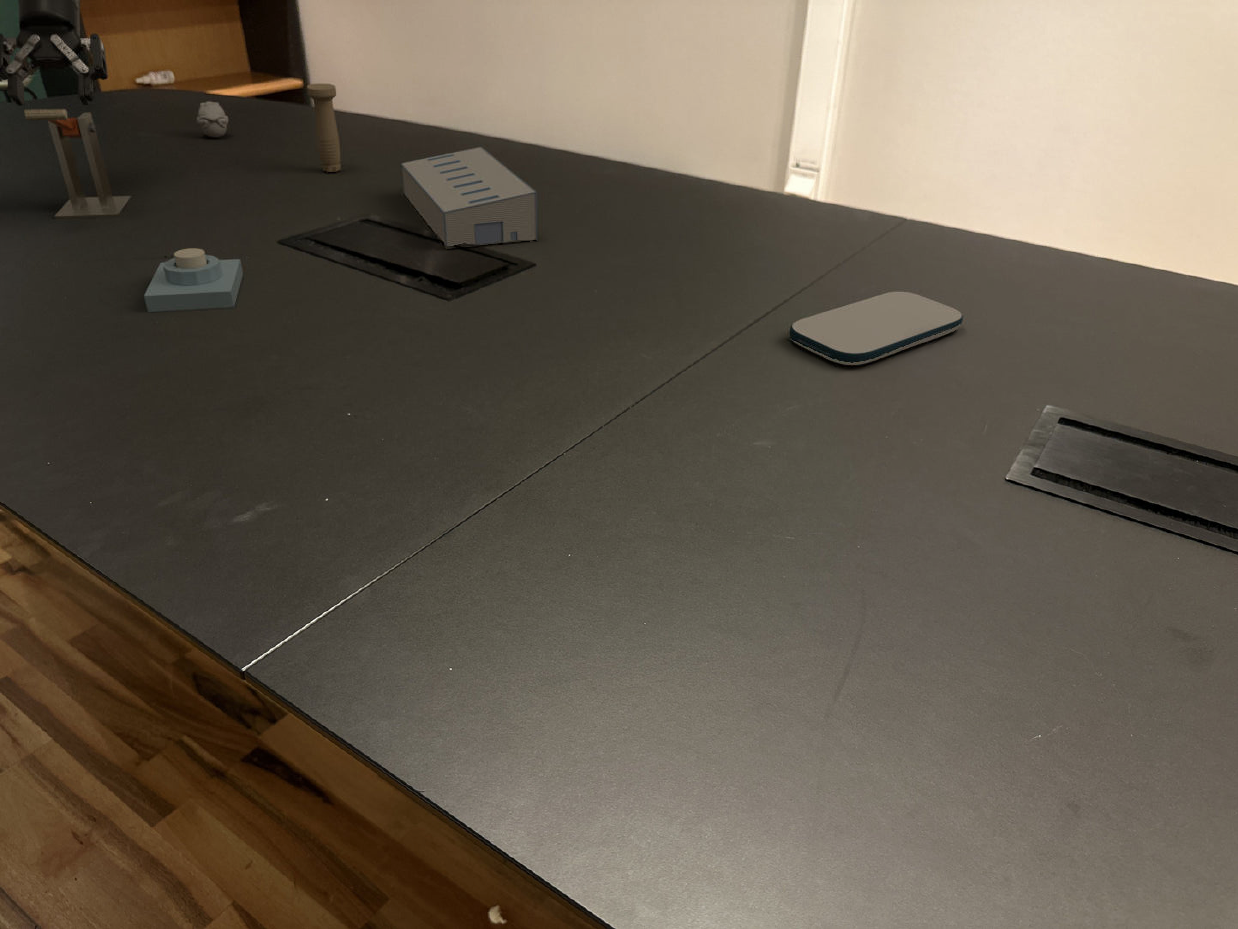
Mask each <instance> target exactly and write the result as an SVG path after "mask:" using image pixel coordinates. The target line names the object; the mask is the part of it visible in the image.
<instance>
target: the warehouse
mask: <svg viewBox="0 0 1238 929" xmlns="http://www.w3.org/2000/svg"><path fill="white" fill-rule="evenodd" d="M400 171H401V181H402V193H403V194H404V193H405V195H406V196H407V197H408V198H409V200H410V201H411V203H412V204H413V205H414V206H415V208H416V210H418V211H419V213H420V215H421V216H423V218H424V219H425V221H426V222H427V223H428V225H429V226H430V227H431V228H432V230H433V231H434V232H435V233H436V234H438V236H439V237H440V238H441V240H442V241H443V242H444V244H445V246H454V245H458V244H463V243H466V244H484V243H494V242H507V241H514V240H534V239H536V240H537V241H538V195H537V194H538V192H537V190H535V189H534V188H532V187H531V186H530V185H529V184H528V183H527V182H525V181H524V180H523V179H521V178H520V177H519V176H518V175H517V174H516V173H514V172H513V171H512V170H511V169H510V168H508V167H507V166H506V165H504V164H503V163H502V162H501V161H500V160H498V159H497V158H496V157H495V156H493V155H492V154H491V153H489V151H487V150H486V149H485V148H483V147H482V146H479V147H474V148H469V149H463V150H459V151H454V152H449V153H445V154H440V155H435V156H430V157H425V158H421V159H415V160H410V161H405V162H401V163H400ZM416 210H415V211H416ZM420 215H419V216H420Z"/></svg>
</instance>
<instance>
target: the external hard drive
mask: <svg viewBox="0 0 1238 929" xmlns="http://www.w3.org/2000/svg"><path fill="white" fill-rule="evenodd" d="M963 320H964V316H963V314H962V312H961V311H960V310H958V309H956V308H954V307H952V306H949V305H947V304H944V303H941V302H939V301H936V300H934V299H931V298H928V297H926V296H923V295H920V294H917V293H913V292H909V291H898V290H897V291H889V292H884V293H880V294H878V295H874V296H871V297H868V298H865V299H861V300H858V301H855V302H852V303H849V304H844V305H842V306H839V307H835V308H832V309H829V310H825V311H823V312H820V313H816V314H812V315H809V316H806V317H803V318H800V319H798V320H796V321H794V322H793V323H792V324H791V326H790V327H789V332H788V333H789V334H788V335H790V337H789V339H790V338H791V339H792V340H793V341H796V342H798V343H800V344H802V345H803V346H806V347H809V348H811V349H813V350H814V351H817V352H819V353H822V354H824V355H826V356H828V357H830V358H832V359H837V360H839V361H844V362H851V363H853V362H860V361H866V360H869V359H874V358H876V357H879V356H881V355H883V354H885V353H889V352H891V351H893V350H896V349H898V348H900V347H904V346H906V345H909V344H911V343H913V342H916V341H919V340H922V339H924V338H927V337H930V336H932V335H936V334H938V333H941V332H943V331H946V330H949V329H952V328H954V327H956V326H958V325H959V324H961V323H962V324H963ZM962 324H961V325H962Z"/></svg>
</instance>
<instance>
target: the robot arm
mask: <svg viewBox="0 0 1238 929" xmlns="http://www.w3.org/2000/svg"><path fill="white" fill-rule="evenodd" d="M80 9H81V2H80V0H18V28H19V32H18V34H17V36H16V37H5V36H4V35H3V34H2V33H1V32H0V80H2V81H7V94H8V96H9V97H10V99H11V101H12V102H14V103H15V104H16V105H17V106H22V107H24V106H25V84H24V81H25V80H26V79H27V78H28V77H29V76H33V75H34V74H35V73H37V71H38V70H39V69H40V68H41V70H50V69H57V70H66V68H67V67H69V68H71V69H73V72H75V73H76V74H77V82H78V84H77V87H78V88H77V90H78V99H79V100H80V102H81V103H82V105H83V106H90V104H91V102H93V101H94V96H95V95H94V83H95V81H96V80H102V81H105V80H108V77H109V75H108V74H109V73H108V64H107V56H106V47H105V44H104V43H103V40H102V39H101V37H100V36H99V34H98V33H91V34H89V37H81V25H80V24H81V21H80V20H81V19H80ZM16 49H19V50H18V51H17V52H16V53H15V51H16ZM84 49H86V50H87V51H88V53H89V54H91V59H92V65H90V66H87V65H86V63H84V62H83V60H81V59H80V57H79V56H80V55H81V53H82V52H83V51H84ZM14 53H15V55H14ZM13 55H14V58H13V60H12V61H11V56H13ZM28 59H29V60H30V61H28Z"/></svg>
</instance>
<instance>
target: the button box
mask: <svg viewBox="0 0 1238 929" xmlns="http://www.w3.org/2000/svg"><path fill="white" fill-rule="evenodd" d="M205 256H206V261H207V265H205V266H202V267H197V268H189V269H183V268H177V266H176V262H175V258H174V257H172V258H171V259H168V260H167V261H165V262H160V263H159V265H158V267H157V269H156V271H155V273H154V275H153V276H152V280H151V281H150V283H149V285H148V286H147V289H146V291H145V292H144V295H143V299H144V301H145V302H144V303H145V306H146V309H147V313H158V312H159V313H160V312H175V311H192V310H212V309H227V308H228V309H229V308H235V306H236V301H237V297H238V294H239V291H240V286H241V283H242V280H243V277H244V276H243V275H244V271H243V267H242V262H241V259H240V258H235V259H234V258H233V259H219V258H218V257H216V256H214V255H212V254H211V255H210V254H205Z"/></svg>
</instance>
